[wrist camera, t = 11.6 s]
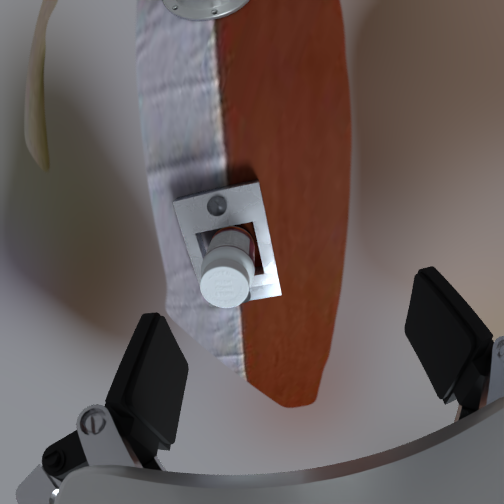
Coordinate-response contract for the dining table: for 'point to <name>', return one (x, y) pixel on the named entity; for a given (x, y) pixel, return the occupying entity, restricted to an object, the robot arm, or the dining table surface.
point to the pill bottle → (228, 267)
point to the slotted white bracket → (223, 215)
